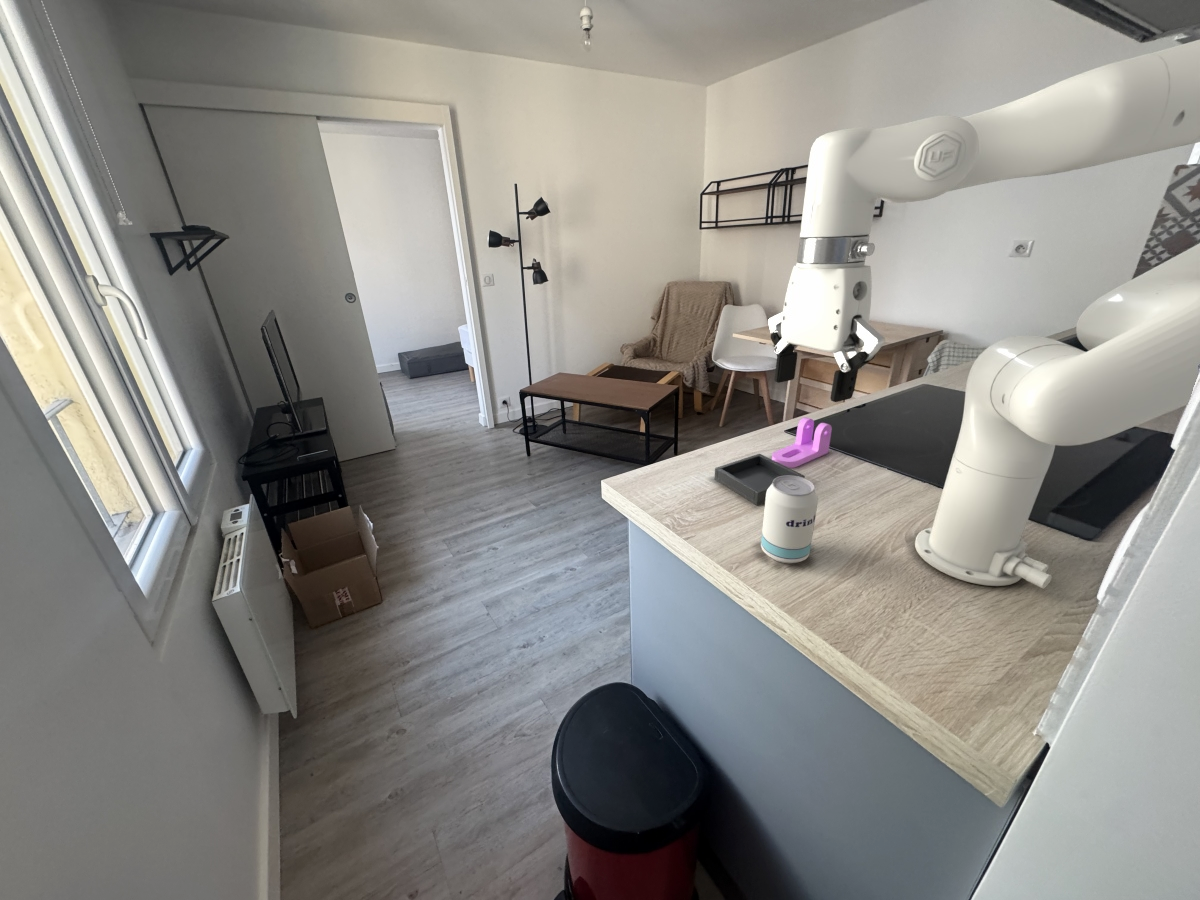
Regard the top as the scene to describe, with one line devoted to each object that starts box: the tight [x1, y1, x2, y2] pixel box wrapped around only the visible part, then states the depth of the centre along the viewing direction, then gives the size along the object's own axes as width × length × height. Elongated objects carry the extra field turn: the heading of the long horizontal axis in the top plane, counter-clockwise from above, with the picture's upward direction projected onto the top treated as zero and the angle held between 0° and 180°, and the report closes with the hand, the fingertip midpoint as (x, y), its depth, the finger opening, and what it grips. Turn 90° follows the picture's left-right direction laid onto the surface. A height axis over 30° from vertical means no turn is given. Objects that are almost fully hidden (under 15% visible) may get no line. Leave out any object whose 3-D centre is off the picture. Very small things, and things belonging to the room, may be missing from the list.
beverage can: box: [760, 475, 819, 564], centre depth 68 cm, size 7×7×12 cm
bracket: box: [771, 416, 833, 469], centre depth 98 cm, size 13×6×7 cm, turn 122°
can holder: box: [714, 453, 806, 506], centre depth 90 cm, size 12×12×3 cm
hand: (810, 389), depth 63 cm, fingers open, 9 cm apart
